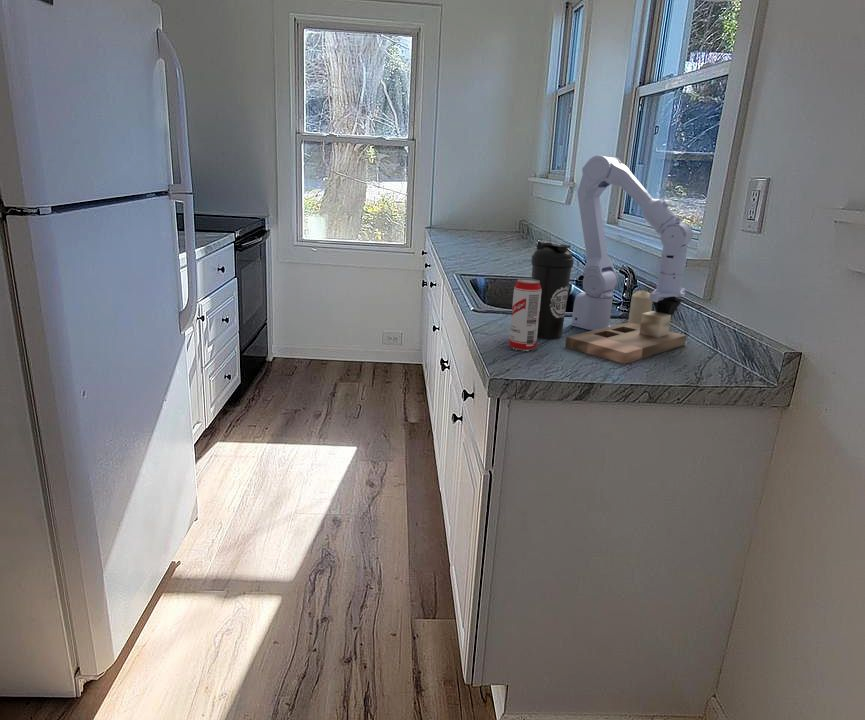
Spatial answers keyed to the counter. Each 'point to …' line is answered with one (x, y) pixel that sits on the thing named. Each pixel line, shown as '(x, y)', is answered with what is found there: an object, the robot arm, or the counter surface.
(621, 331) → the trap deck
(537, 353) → the counter surface
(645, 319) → the maple block
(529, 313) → the beer can
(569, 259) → the water bottle
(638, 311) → the cream domed cylinder
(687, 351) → the counter surface
